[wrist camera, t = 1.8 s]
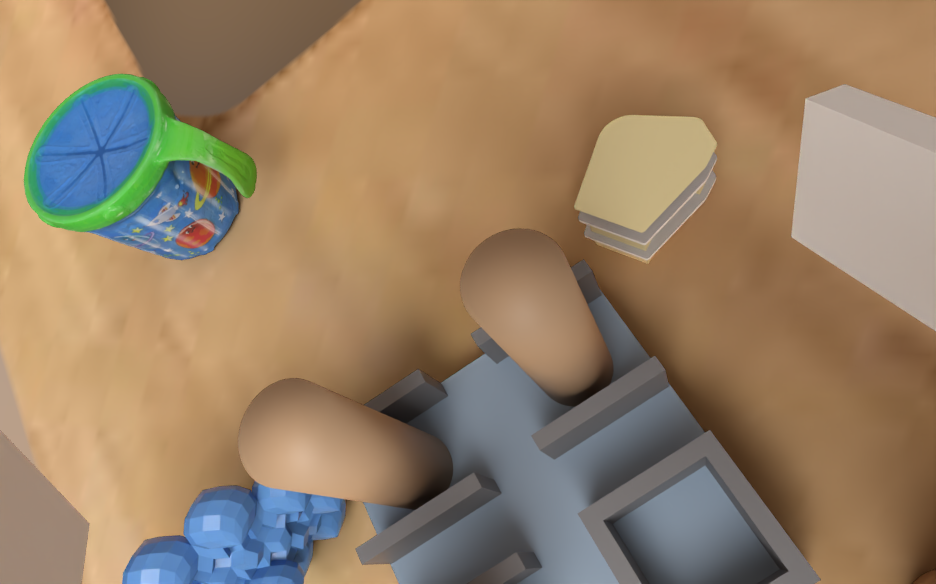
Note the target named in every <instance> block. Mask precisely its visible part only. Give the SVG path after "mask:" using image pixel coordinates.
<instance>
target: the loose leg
mask: <svg viewBox="0 0 936 584" xmlns="http://www.w3.org/2000/svg"><path fill="white" fill-rule="evenodd" d="M913 584H936V569H935V570H932V571H929V572H927V573H925V574H923V575H922V576H920V577H919V578H918V579H917V580H916V581H915V582H914V583H913Z"/></svg>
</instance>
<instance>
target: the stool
mask: <svg viewBox="0 0 936 584" xmlns="http://www.w3.org/2000/svg"><path fill="white" fill-rule="evenodd" d="M460 293H461V298H462V301H463V304H464V307H465V308H466V310H467V312H468V313H469V315H470V316H471V317H472V318H473V319H474V320H475V321H476V323H477V324H478V325H479V326H480V327H481V328H479V329H478V330H476V331H474V332H473V333H471V336H472V338H473V339H474V341H475V343H476V344H477V346H478V347H479V348H480V349H481V350H482V351H483V352H484V353H485V354H484V355H482V356H481V357H479V358H477V359H476V360H474V361H473V362H471V363H470V364H468V365H467V366H465V367H464V368H462V369H461V370H459V371H458V372H456V373H455V374H453V375H452V376H450V377H449V378H447V379H446V380H444V381H443V382H441V383H439V382H438V381H436V380H435V379H433V378H432V377H430V376H429V375H427V374H426V373H424V372H423V371H421V370H419V369H417V370H416V371H414V372H413V373H411V374H410V375H408V376H407V377H405V378H404V379H402V380H401V381H399V382H398V383H396V384H395V385H393V386H392V387H390V388H389V389H387V390H386V391H384V392H383V393H381V394H379V395H378V396H376V397H375V398H373V399H372V400H370V401H369V402H367V403H366V404H364V405H362V404H360V403H358V402H355V401H353V400H351V399H348V398H346V397H344V396H342V395H339V394H337V393H335V392H332V391H330V390H328V389H326V388H323V387H321V386H319V385H317V384H314V383H312V382H310V381H307V380H304V379H298V378H290V379H284V380H280V381H277V382H275V383H273V384H271V385H270V386H268V387H266V388H265V389H264V390H262V391H261V392H260V393H259V394H258V395H257V396H256V397H255V398H254V400H253V401H252V402H251V404H250V405H249V407H248V408H247V410H246V412H245V414H244V416H243V419H242V422H241V425H240V429H239V435H238V449H239V455H240V459H241V462H242V464H243V466H244V468H245V470H246V471H247V473H248V474H249V475H250V477H251V478H253V479H254V480H255V481H256V482H258V483H259V484H261V485H263V486H266V487H269V488H274V489H281V490H287V491H294V492H300V493H307V494H313V495H320V496H327V497H333V498H340V499H346V500H353V501H359V502H363V503H364V505H365V508H366V510H367V512H368V515H369V517H370V519H371V521H372V524H373V526H374V528H375V530H376V533H377V535H376V536H374V537H373V538H371V539H370V540H368V541H367V542H365V543H364V544H362V545H361V546H359V547H357V548H356V552H357V554H358V556H359V559H360V561H361V563H362V565H366V564H391V567H392V569H393V571H394V573H395V576H396V578H397V580H398V582H399V584H815V583H817V582H818V581H820V580H821V579H820V578H819V577H818V575H817V574H816V572H815V571H814V570H813V568H812V567H811V566H810V564H809V563H808V562H807V560H806V559H805V558H804V556H803V555H802V554H801V552H800V551H799V549H798V548H797V547H796V545H795V544H794V543H793V541H792V540H791V539H790V537H789V536H788V535H787V533H786V532H785V531H784V529H783V528H782V527H781V525H780V524H779V522H778V521H777V520H776V518H775V517H774V516H773V514H772V513H771V512H770V510H769V509H768V508H767V506H766V505H765V504H764V502H763V501H762V499H761V498H760V497H759V495H758V494H757V493H756V491H755V490H754V489H753V487H752V486H751V485H750V483H749V482H748V481H747V479H746V478H745V477H744V475H743V474H742V472H741V471H740V470H739V468H738V467H737V466H736V464H735V463H734V462H733V460H732V459H731V458H730V456H729V455H728V454H727V452H726V451H725V450H724V448H723V447H722V445H721V444H720V443H719V441H718V440H717V439H716V437H715V436H714V435H713V433H712V432H711V431H710V430H709V431H707V432H706V433H705V432H704V430H703V429H702V428H701V426H700V425H699V424H698V422H697V421H696V420H695V418H694V417H693V415H692V414H691V413H690V411H689V410H688V409H687V407H686V406H685V405H684V403H683V402H682V400H681V399H680V398H679V396H678V395H677V394H676V392H675V391H674V390H673V388H672V387H671V385H670V384H669V383H668V380H667V375H666V370H665V368H664V367H663V366H662V364H661V363H660V362H659V360H658V359H657V358H656V356H654V357H652V358H650V357H649V356H648V354H647V353H646V351H645V350H644V349H643V347H642V346H641V345H640V343H639V342H638V341H637V339H636V338H635V337H634V335H633V334H632V332H631V331H630V330H629V328H628V327H627V326H626V324H625V323H624V322H623V320H622V319H621V317H620V316H619V315H618V313H617V312H616V311H615V309H614V308H613V307H612V305H611V304H610V302H609V301H608V300H607V298H606V297H605V296H604V294H603V293H602V292H601V290H600V289H599V287H598V284H597V282H596V279H595V276H594V274H593V271H592V270H591V268H590V267H589V266H588V264H587V263H586V262H585V260H584V259H583V260H582V261H580V262H579V263H577V264H576V265H574V266H573V267H570V265H569V263H568V261H567V259H566V256H565V254H564V253H563V251H562V249H561V248H560V247H559V246H558V244H557V243H556V242H555V241H553V240H552V239H551V238H550V237H548V236H547V235H545V234H543V233H541V232H538V231H535V230H530V229H510V230H505V231H502V232H499V233H497V234H495V235H492V236H491V237H489V238H487V239H486V240H485V241H483V242H482V243H481V244H480V245H479V246H478V247H476V248H475V250H474V251H473V252H472V253H471V255H470V256H469V258H468V259H467V261H466V263H465V265H464V268H463V271H462V275H461V280H460Z"/></svg>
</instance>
